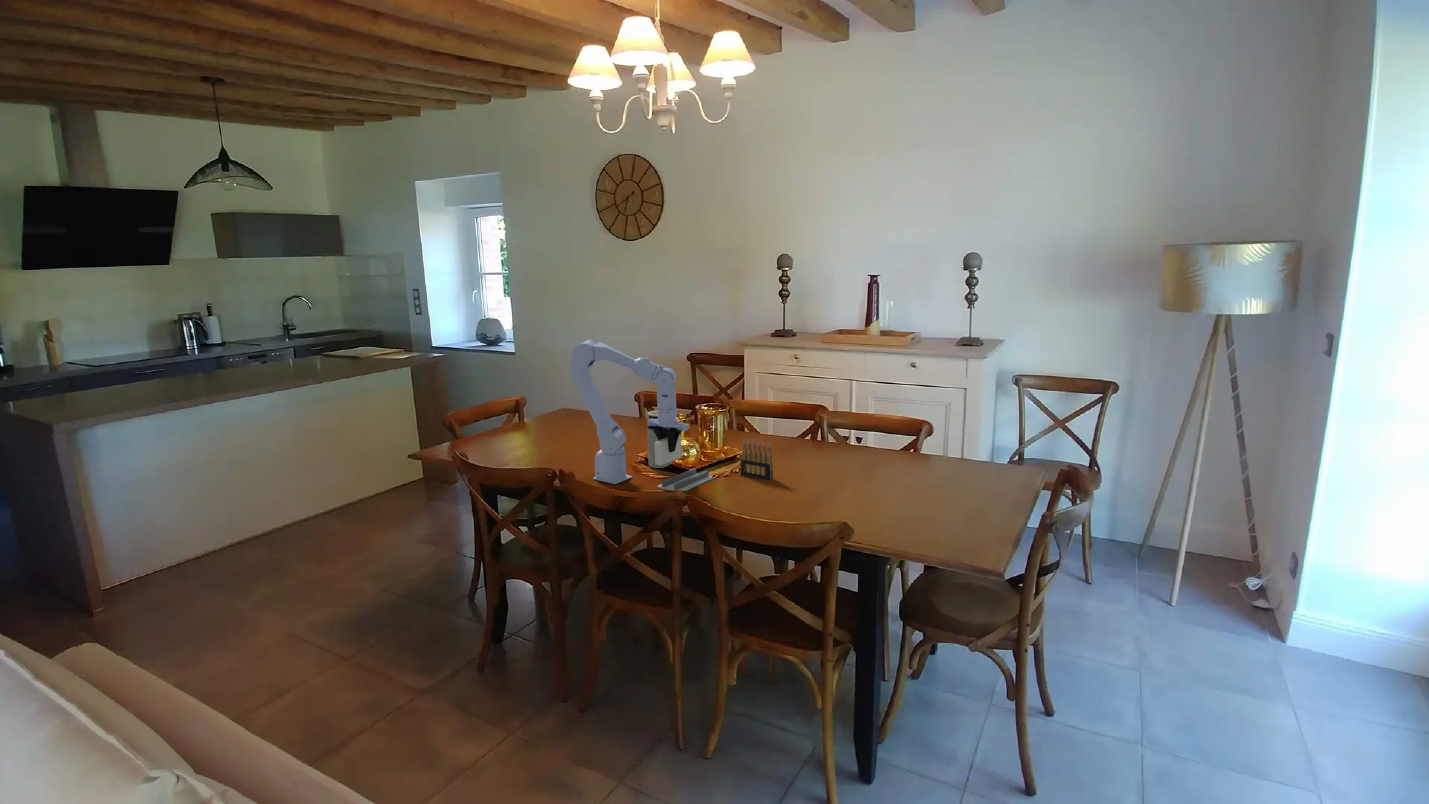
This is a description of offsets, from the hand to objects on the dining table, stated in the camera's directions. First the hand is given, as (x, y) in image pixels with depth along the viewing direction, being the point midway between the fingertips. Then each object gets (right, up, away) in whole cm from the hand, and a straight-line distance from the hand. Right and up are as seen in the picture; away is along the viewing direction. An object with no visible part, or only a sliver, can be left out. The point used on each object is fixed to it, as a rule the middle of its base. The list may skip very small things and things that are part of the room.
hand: (668, 450), depth 224 cm
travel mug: (-4, -6, +17) cm, 19 cm away
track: (+5, -10, -1) cm, 11 cm away
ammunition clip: (+27, -9, +4) cm, 29 cm away
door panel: (0, -3, +1) cm, 3 cm away
